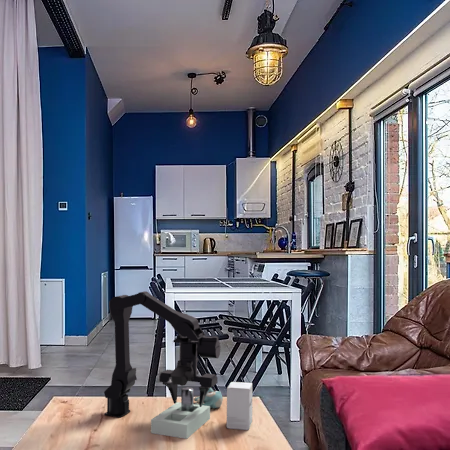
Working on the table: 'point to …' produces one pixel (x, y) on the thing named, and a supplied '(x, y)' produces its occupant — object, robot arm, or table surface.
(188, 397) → the steel pin
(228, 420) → the supplement box
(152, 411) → the table surface
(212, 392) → the stuffed animal
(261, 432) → the table surface
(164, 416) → the socket board
